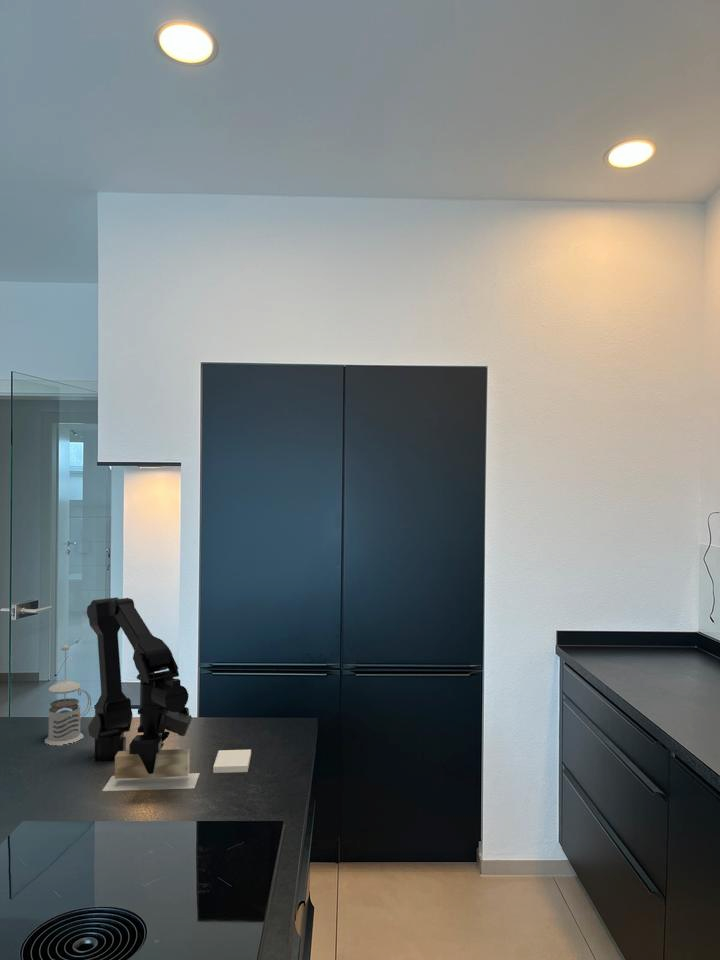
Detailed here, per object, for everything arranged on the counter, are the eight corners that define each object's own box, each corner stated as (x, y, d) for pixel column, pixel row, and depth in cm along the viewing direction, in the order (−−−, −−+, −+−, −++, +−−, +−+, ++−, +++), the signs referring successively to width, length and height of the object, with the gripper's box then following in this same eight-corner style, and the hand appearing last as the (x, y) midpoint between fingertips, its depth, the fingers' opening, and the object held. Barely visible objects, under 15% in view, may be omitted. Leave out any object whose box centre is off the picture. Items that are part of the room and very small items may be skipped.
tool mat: (102, 793, 150) (102, 790, 150) (112, 778, 158) (112, 775, 158) (194, 790, 151) (194, 788, 151) (199, 775, 159) (199, 773, 159)
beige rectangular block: (114, 778, 152) (115, 756, 152) (118, 773, 155) (118, 751, 155) (187, 776, 154) (187, 753, 154) (189, 770, 157) (189, 748, 157)
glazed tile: (213, 766, 159) (247, 765, 160) (218, 750, 169) (251, 749, 170) (213, 777, 159) (247, 776, 160) (218, 760, 169) (251, 759, 170)
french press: (39, 737, 183) (40, 644, 183) (83, 728, 190) (84, 638, 191) (50, 748, 175) (51, 651, 176) (96, 738, 183) (97, 645, 183)
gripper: (181, 714, 146) (181, 787, 146) (195, 689, 165) (194, 753, 164) (128, 715, 145) (128, 789, 145) (148, 689, 164) (147, 754, 164)
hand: (152, 770), depth 154 cm, fingers closed on beige rectangular block, 3 cm apart
